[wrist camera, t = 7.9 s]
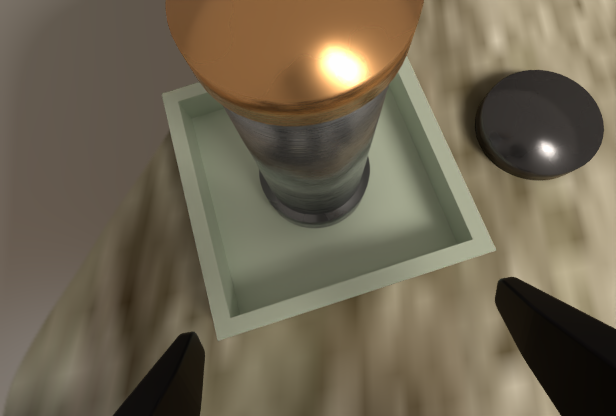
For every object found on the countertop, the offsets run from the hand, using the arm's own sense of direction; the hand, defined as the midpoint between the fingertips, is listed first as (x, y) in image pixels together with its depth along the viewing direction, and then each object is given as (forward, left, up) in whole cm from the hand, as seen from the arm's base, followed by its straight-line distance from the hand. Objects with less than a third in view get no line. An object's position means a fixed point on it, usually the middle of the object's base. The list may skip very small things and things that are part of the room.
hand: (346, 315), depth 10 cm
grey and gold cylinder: (+7, -1, -8) cm, 10 cm away
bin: (+7, -1, -8) cm, 11 cm away
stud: (+6, -14, -8) cm, 17 cm away
